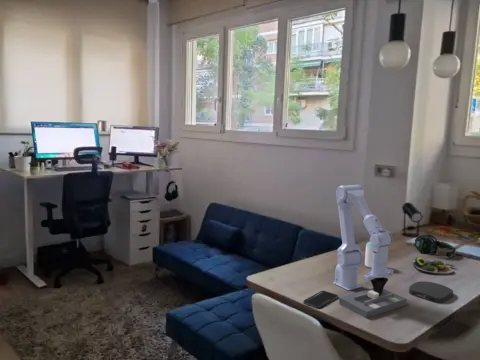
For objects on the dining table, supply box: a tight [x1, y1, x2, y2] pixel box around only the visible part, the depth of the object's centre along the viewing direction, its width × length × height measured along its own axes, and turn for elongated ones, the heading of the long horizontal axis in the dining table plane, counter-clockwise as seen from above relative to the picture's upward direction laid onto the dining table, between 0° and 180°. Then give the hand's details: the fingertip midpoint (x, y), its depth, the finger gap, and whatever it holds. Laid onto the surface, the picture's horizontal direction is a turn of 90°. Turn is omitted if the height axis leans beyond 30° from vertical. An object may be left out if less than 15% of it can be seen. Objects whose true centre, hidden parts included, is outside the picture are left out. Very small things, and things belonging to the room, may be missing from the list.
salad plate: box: [412, 255, 456, 275], centre depth 207 cm, size 19×18×5 cm
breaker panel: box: [338, 287, 407, 319], centre depth 167 cm, size 14×22×4 cm, turn 121°
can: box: [364, 240, 373, 269], centre depth 209 cm, size 7×7×12 cm
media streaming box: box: [408, 280, 454, 304], centre depth 178 cm, size 15×15×3 cm
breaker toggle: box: [367, 290, 379, 299], centre depth 167 cm, size 4×2×2 cm, turn 31°
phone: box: [302, 290, 339, 310], centre depth 171 cm, size 8×1×15 cm
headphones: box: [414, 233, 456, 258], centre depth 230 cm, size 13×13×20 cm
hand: (377, 294), depth 168 cm, fingers closed
